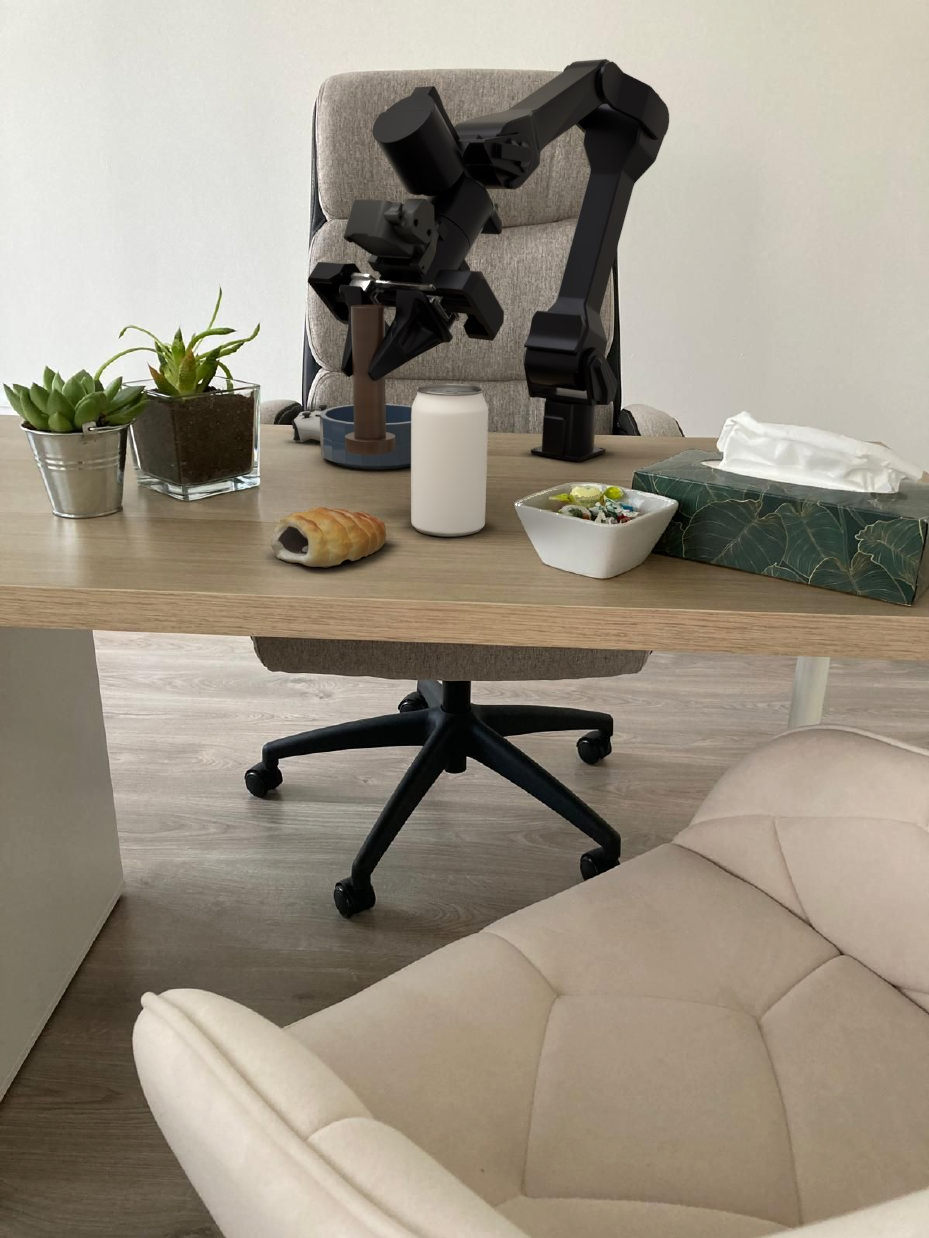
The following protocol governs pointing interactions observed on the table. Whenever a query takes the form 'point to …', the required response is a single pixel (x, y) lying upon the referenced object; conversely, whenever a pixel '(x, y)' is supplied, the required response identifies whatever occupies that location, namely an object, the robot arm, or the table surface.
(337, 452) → the bowl
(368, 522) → the pastry
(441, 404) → the can
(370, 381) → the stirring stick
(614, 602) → the table surface
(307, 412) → the game controller
